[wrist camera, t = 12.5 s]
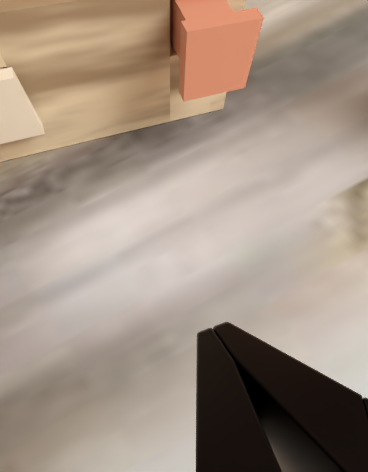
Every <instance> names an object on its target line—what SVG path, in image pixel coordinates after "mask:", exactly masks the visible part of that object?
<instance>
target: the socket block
mask: <svg viewBox="0 0 368 472" xmlns="http://www.w3.org/2000/svg"><path fill="white" fill-rule="evenodd" d="M226 1H227V3H228V4H229V6H230V7H231V9H232V10H233V12H235V11H241V10H244V6H245V1H246V0H226ZM1 67H8V68H9V67H12V68H13V70H14V72H15V74H16V76H17V78H18V79H19V81H20V83H21V85H22V87H23V89H24V91H25V92H26V94H27V96H28V98H29V100H30V102H31V104H32V105H33V107H34V109H35V111H36V113H37V115H38V117H39V119H40V120H41V122H42V124H43V128H44V133H45V134H43V135H38V136H34V137H29V138H25V139H21V140H16V141H12V142H7V143H3V144H0V162H2V161H6V160H10V159H14V158H19V157H23V156H27V155H31V154H35V153H40V152H44V151H48V150H52V149H56V148H61V147H65V146H69V145H73V144H77V143H82V142H86V141H90V140H94V139H98V138H103V137H107V136H111V135H115V134H119V133H124V132H128V131H132V130H136V129H140V128H145V127H149V126H153V125H157V124H161V123H166V122H170V121H174V120H178V119H182V118H187V117H191V116H195V115H199V114H204V113H208V112H212V111H216V110H220V109H223V107H224V102H225V97H226V92H224V93H220V94H215V95H211V96H206V97H202V98H198V99H193V100H189V101H184V102H183V100H182V97H181V95H180V93H179V72H180V59H179V57H178V55H177V53H176V51H175V49H174V47H173V45H172V43H171V41H170V0H0V68H1Z"/></svg>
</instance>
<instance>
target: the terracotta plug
mask: <svg viewBox="0 0 368 472" xmlns="http://www.w3.org/2000/svg"><path fill="white" fill-rule="evenodd" d="M263 19H264V17H263V16H262V15H261V13H260V12H259V10H258V9H257V8H252V9H246V10H241V11H235V12H233V10H232V9H231V7H230V6H229V4H228V3H227V1H226V0H170V41H171V43H172V45H173V47H174V49H175V51H176V53H177V55H178V57H179V59H180V72H179V93H180V95H181V97H182V100H183V102H184V101H189V100H193V99H198V98H202V97H206V96H211V95H215V94H220V93H224V92H228V91H233V90H237V89H242V88H245V85H246V82H247V78H248V74H249V70H250V67H251V63H252V59H253V56H254V52H255V48H256V45H257V41H258V37H259V34H260V30H261V26H262V22H263Z"/></svg>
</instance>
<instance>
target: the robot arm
mask: <svg viewBox="0 0 368 472" xmlns="http://www.w3.org/2000/svg"><path fill="white" fill-rule="evenodd" d="M196 472H368V399H367V398H362V396H361V395H360V394H358V393H356V392H354V391H353V390H351V389H349V388H347V387H345V386H344V385H342V384H340V383H338V382H336V381H335V380H333V379H331V378H329V377H327V376H325V375H324V374H322V373H320V372H318V371H316V370H315V369H313V368H311V367H309V366H307V365H305V364H304V363H302V362H300V361H298V360H296V359H295V358H293V357H291V356H289V355H287V354H286V353H284V352H282V351H280V350H278V349H276V348H275V347H273V346H271V345H269V344H267V343H266V342H264V341H262V340H260V339H258V338H256V337H255V336H253V335H251V334H249V333H247V332H246V331H244V330H242V329H240V328H238V327H237V326H235V325H233V324H231V323H229V322H224V323H222V324H219V325H216V326H214V328H213V329H212V328H208V329H206V330H203V331H200V332H198V333H197V392H196Z"/></svg>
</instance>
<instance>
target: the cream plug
mask: <svg viewBox="0 0 368 472" xmlns="http://www.w3.org/2000/svg"><path fill="white" fill-rule="evenodd" d="M43 134H45V133H44V128H43V124H42V122H41V120H40V119H39V117H38V115H37V113H36V111H35V109H34V107H33V105H32V104H31V102H30V100H29V98H28V96H27V94H26V92H25V91H24V89H23V87H22V85H21V83H20V81H19V79H18V78H17V76H16V74H15V72H14V70H13V68H12V67H9V68H8V67H1V68H0V144H3V143H7V142H12V141H16V140H21V139H25V138H29V137H34V136H38V135H43Z"/></svg>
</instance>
